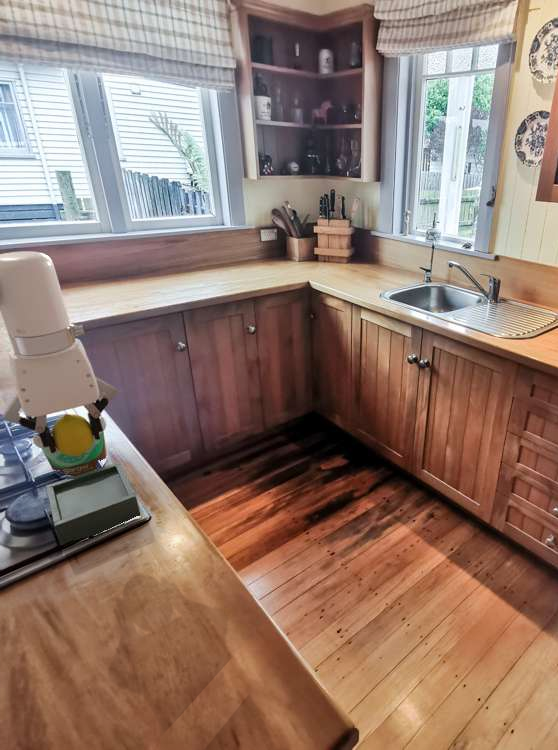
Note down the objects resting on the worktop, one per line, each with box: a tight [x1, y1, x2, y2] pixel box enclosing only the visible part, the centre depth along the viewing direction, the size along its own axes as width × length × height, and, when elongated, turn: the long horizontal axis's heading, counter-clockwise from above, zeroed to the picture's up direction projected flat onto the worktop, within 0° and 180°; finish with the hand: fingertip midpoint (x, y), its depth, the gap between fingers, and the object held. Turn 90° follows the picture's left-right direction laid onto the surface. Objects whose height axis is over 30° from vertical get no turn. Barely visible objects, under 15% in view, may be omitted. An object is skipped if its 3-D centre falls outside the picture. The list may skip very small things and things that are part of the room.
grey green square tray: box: [45, 461, 142, 545], centre depth 82 cm, size 12×12×5 cm
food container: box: [32, 416, 108, 476], centre depth 91 cm, size 12×6×10 cm, turn 127°
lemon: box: [51, 413, 94, 456], centre depth 75 cm, size 6×6×8 cm
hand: (75, 441), depth 76 cm, fingers closed on lemon, 5 cm apart
